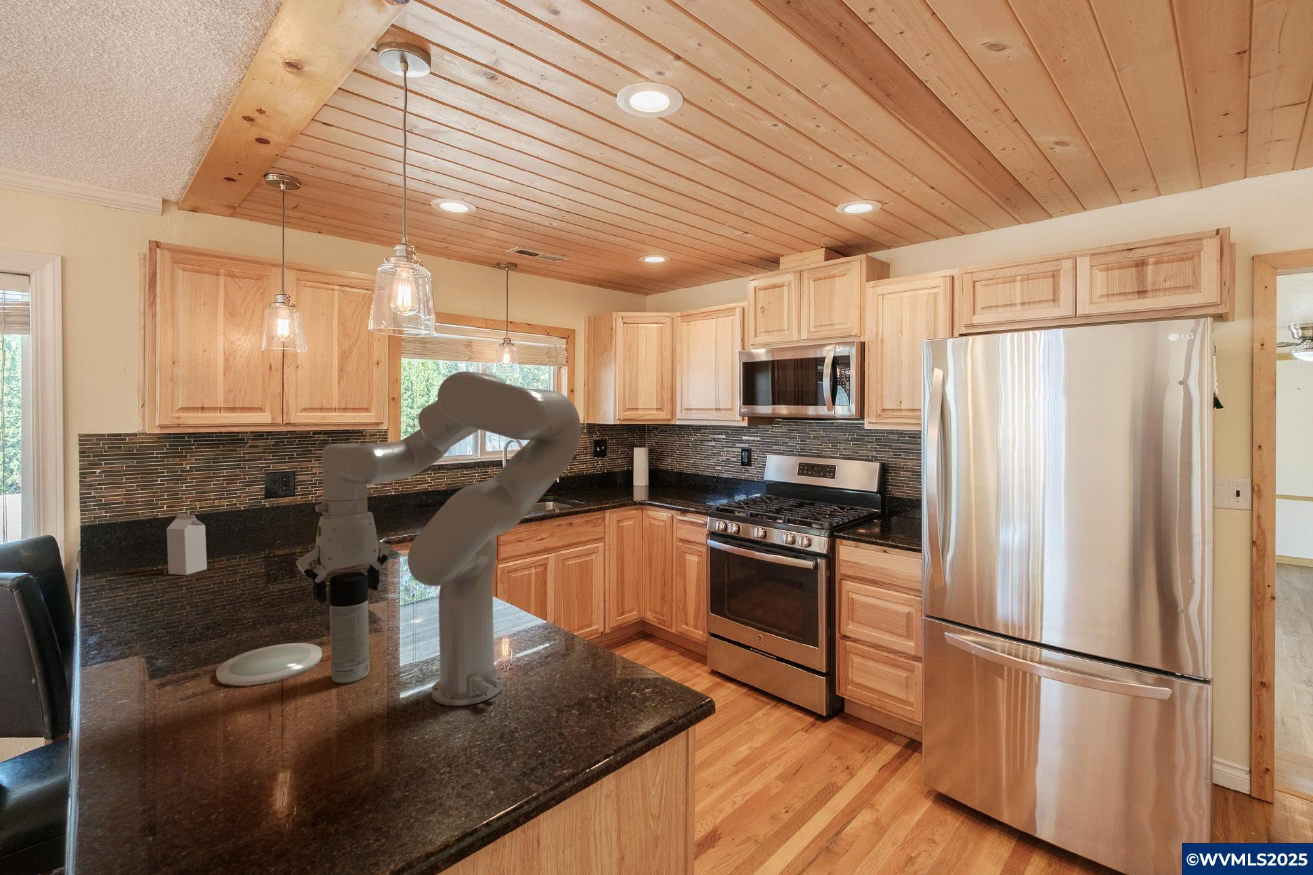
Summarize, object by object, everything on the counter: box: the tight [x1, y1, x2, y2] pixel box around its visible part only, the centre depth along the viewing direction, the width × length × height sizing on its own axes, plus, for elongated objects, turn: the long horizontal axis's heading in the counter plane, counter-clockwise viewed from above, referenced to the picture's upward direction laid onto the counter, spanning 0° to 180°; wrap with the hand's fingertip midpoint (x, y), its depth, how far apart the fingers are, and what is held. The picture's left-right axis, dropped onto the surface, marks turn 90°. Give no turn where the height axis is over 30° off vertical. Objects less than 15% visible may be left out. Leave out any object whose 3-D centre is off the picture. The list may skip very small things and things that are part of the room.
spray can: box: [329, 571, 370, 685], centre depth 114 cm, size 7×7×20 cm
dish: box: [215, 642, 323, 685], centre depth 119 cm, size 18×18×1 cm
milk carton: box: [166, 514, 208, 576], centre depth 192 cm, size 7×7×19 cm
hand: (347, 595), depth 114 cm, fingers open, 9 cm apart
